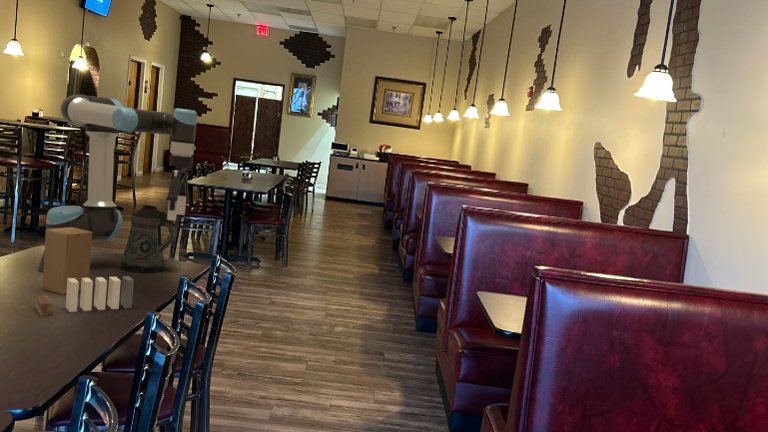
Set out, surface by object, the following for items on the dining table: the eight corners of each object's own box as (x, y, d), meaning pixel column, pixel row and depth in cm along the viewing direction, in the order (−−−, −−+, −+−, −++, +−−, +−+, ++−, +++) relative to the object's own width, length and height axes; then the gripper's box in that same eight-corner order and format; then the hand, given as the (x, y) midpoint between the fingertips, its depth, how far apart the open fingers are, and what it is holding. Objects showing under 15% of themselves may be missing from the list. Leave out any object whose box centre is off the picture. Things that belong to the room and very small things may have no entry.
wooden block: (88, 290, 216) (92, 231, 214) (62, 295, 207) (66, 234, 205) (68, 284, 221) (71, 226, 218) (41, 289, 211) (45, 228, 209)
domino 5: (126, 303, 207) (129, 276, 206) (131, 308, 203) (133, 280, 202) (120, 304, 205) (122, 276, 204) (125, 308, 201) (127, 280, 200)
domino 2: (86, 306, 199) (88, 277, 198) (91, 310, 195) (93, 281, 194) (79, 306, 198) (81, 277, 197) (84, 311, 194) (85, 281, 193)
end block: (45, 306, 194) (46, 295, 193) (52, 315, 187) (53, 303, 186) (34, 307, 192) (35, 295, 192) (40, 315, 185) (41, 303, 185)
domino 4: (113, 304, 204) (115, 276, 203) (118, 308, 200) (120, 280, 199) (107, 304, 203) (109, 276, 202) (111, 309, 199) (113, 280, 198)
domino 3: (100, 305, 202) (102, 277, 201) (105, 309, 198) (107, 281, 197) (93, 305, 200) (95, 277, 199) (98, 310, 196) (100, 281, 195)
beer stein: (119, 263, 260) (123, 201, 257) (169, 264, 268) (174, 205, 265) (120, 272, 245) (125, 207, 242) (174, 273, 253) (179, 210, 250)
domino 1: (72, 307, 197) (74, 278, 196) (76, 311, 193) (78, 282, 192) (65, 307, 195) (67, 278, 194) (69, 312, 191) (71, 282, 190)
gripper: (185, 158, 206) (179, 223, 209) (199, 155, 231) (194, 213, 233) (161, 155, 205) (155, 221, 208) (178, 152, 230) (173, 211, 233)
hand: (176, 217), depth 221 cm, fingers open, 13 cm apart
